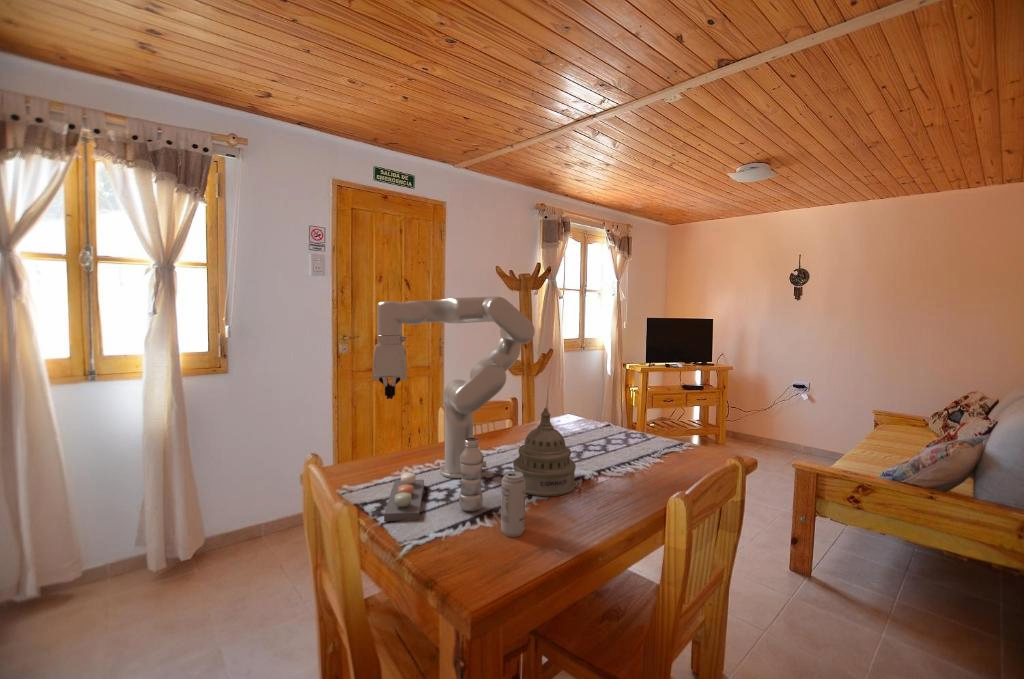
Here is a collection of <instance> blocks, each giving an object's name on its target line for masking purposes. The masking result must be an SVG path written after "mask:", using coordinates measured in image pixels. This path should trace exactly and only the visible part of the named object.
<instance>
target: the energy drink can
mask: <svg viewBox="0 0 1024 679" xmlns="http://www.w3.org/2000/svg"><path fill="white" fill-rule="evenodd" d="M500 494H501V497H500V498H501V500H500V503H501V506H500V508H501V509H500V530H501V531H502V534H503V535H504V536H507V537H511V538H515V537H516V538H517V537H520V536H521V535H522V534H523V532H524V531H525V526H526V524H525V523H526V521H525V520H526V493H525V479H524V477H523V473H521V472H518V471H514V470H510V471H506V472H504V473H503V477H502V479H501V493H500Z"/></svg>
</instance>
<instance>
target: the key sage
mask: <svg viewBox="0 0 1024 679" xmlns="http://www.w3.org/2000/svg"><path fill="white" fill-rule="evenodd" d="M410 504H411V494H410V493H399V494H396V495H395V505H396V506H408V505H410Z"/></svg>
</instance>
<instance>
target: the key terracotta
mask: <svg viewBox="0 0 1024 679" xmlns="http://www.w3.org/2000/svg"><path fill="white" fill-rule="evenodd" d="M399 493H410V494H411V496H412V495H413V494H414V486H413V485H401V486H399V487H398V494H399Z"/></svg>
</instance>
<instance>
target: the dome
mask: <svg viewBox="0 0 1024 679" xmlns="http://www.w3.org/2000/svg"><path fill="white" fill-rule="evenodd" d="M540 416H541V418H540V423H539V424H538V425H537V426H536V428H534V429H532V430H531V431H529V433H527V435H526V437H525V439H524V444H522V445H521V446H519V448H518V455H519V456H518V457H516V458H515V459H514V460H513V463H512V464H513V468H514V470H513V471H518V472H521V473H523V477H524V479H525V494H527V495H532V496H537V497H559V496H563V495H566V494H569V493H571V492H573V490H575V489H576V481H575V476H576V475H575V472H576V466H577V465H576V463H575V461H574V460H573V459H572V458H571V454H572V451H571V449H570V447H568V446H567V445H566V441H565V438H564V436H563V435H562V434H561V432H559V430H557V429H556V428H555V426H554V425H553V424H552V422H551V413H550V412H549V411H548V408H547V407H544V408H543V411H542V412H541V414H540Z"/></svg>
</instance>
